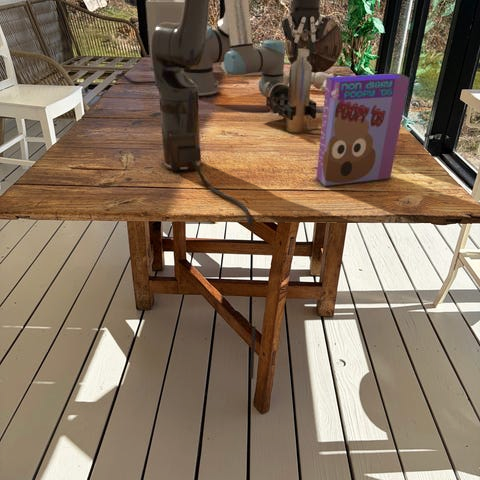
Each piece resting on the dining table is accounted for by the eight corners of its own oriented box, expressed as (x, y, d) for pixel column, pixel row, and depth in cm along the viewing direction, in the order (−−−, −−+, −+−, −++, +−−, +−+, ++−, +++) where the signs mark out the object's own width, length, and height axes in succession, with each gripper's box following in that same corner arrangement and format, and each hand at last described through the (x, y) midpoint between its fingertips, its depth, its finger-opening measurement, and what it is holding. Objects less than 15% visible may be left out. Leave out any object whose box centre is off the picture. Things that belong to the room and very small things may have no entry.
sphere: (341, 70, 223) (348, 11, 211) (336, 82, 203) (343, 17, 190) (288, 66, 229) (292, 9, 216) (278, 77, 208) (281, 14, 196)
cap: (293, 54, 138) (293, 48, 137) (306, 54, 139) (307, 48, 138) (297, 57, 135) (297, 51, 134) (310, 56, 135) (311, 50, 134)
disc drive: (278, 75, 213) (279, 63, 210) (229, 76, 208) (229, 64, 206) (267, 67, 228) (267, 55, 225) (221, 68, 223) (221, 57, 220)
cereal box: (324, 186, 112) (336, 81, 99) (316, 178, 116) (326, 76, 103) (390, 178, 116) (409, 77, 103) (379, 171, 120) (397, 72, 107)
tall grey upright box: (195, 63, 233) (193, -1, 218) (192, 69, 220) (189, 2, 206) (156, 62, 233) (152, -2, 219) (150, 68, 221) (145, 1, 206)
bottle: (306, 127, 150) (313, 50, 139) (306, 133, 145) (313, 54, 133) (286, 126, 151) (291, 49, 139) (285, 132, 145) (290, 53, 134)
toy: (311, 101, 176) (313, 82, 172) (274, 86, 194) (275, 69, 190) (361, 94, 186) (364, 75, 182) (322, 80, 204) (323, 63, 201)
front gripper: (288, -11, 123) (284, 59, 132) (337, -11, 127) (330, 57, 136) (277, -13, 129) (274, 55, 138) (324, -13, 133) (318, 52, 142)
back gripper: (306, 105, 164) (332, 125, 144) (251, 107, 160) (271, 129, 140) (308, 82, 160) (335, 100, 140) (252, 84, 156) (272, 103, 137)
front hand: (302, 55), depth 137 cm, fingers closed on cap, 3 cm apart
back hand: (303, 114), depth 140 cm, fingers closed on bottle, 6 cm apart
